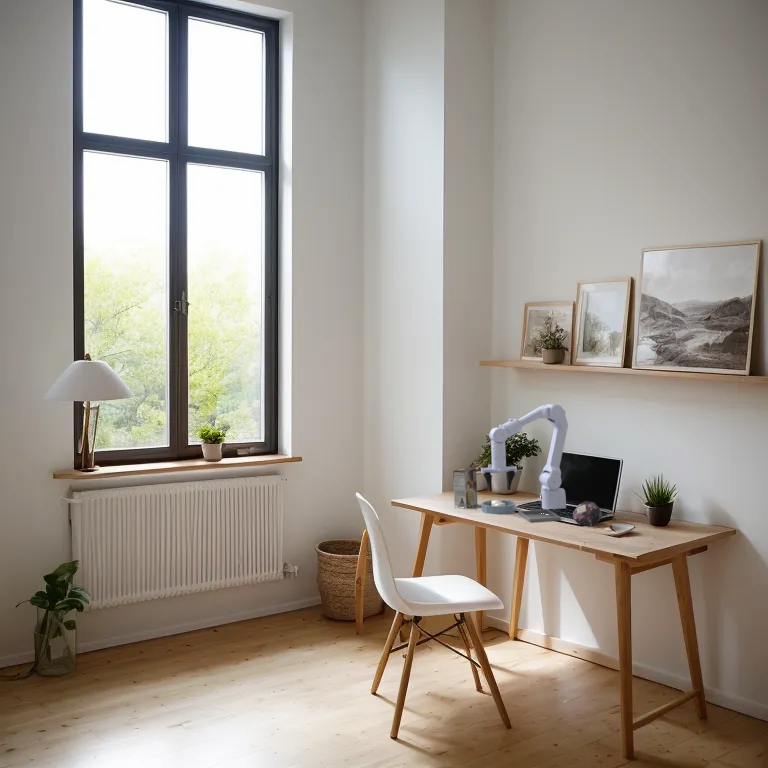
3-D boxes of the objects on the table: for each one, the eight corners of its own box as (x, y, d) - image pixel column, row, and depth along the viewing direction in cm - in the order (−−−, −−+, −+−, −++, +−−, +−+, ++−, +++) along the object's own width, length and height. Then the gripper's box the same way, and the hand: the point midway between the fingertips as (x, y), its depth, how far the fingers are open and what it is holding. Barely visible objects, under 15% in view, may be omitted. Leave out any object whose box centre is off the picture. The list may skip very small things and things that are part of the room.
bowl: (510, 508, 366) (510, 499, 366) (519, 515, 353) (519, 505, 352) (478, 510, 365) (478, 501, 364) (486, 517, 351) (486, 507, 351)
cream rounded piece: (503, 510, 358) (503, 502, 358) (507, 512, 354) (506, 504, 354) (493, 511, 358) (493, 502, 357) (496, 513, 353) (496, 504, 353)
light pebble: (499, 507, 364) (499, 499, 363) (503, 509, 359) (503, 501, 359) (490, 508, 362) (489, 500, 362) (494, 510, 358) (493, 502, 358)
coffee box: (465, 503, 380) (464, 467, 379) (477, 505, 376) (476, 468, 375) (454, 507, 373) (452, 470, 372) (466, 508, 369) (465, 471, 368)
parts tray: (548, 514, 352) (548, 509, 351) (560, 522, 336) (560, 517, 336) (518, 516, 350) (518, 511, 350) (529, 524, 335) (529, 519, 335)
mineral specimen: (565, 520, 332) (574, 495, 333) (589, 528, 334) (598, 504, 335) (576, 524, 323) (585, 499, 323) (600, 533, 325) (609, 508, 325)
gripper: (483, 459, 350) (484, 492, 351) (518, 457, 352) (519, 490, 352) (479, 457, 357) (480, 489, 358) (513, 455, 359) (514, 487, 359)
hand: (499, 490), depth 355 cm, fingers open, 7 cm apart
